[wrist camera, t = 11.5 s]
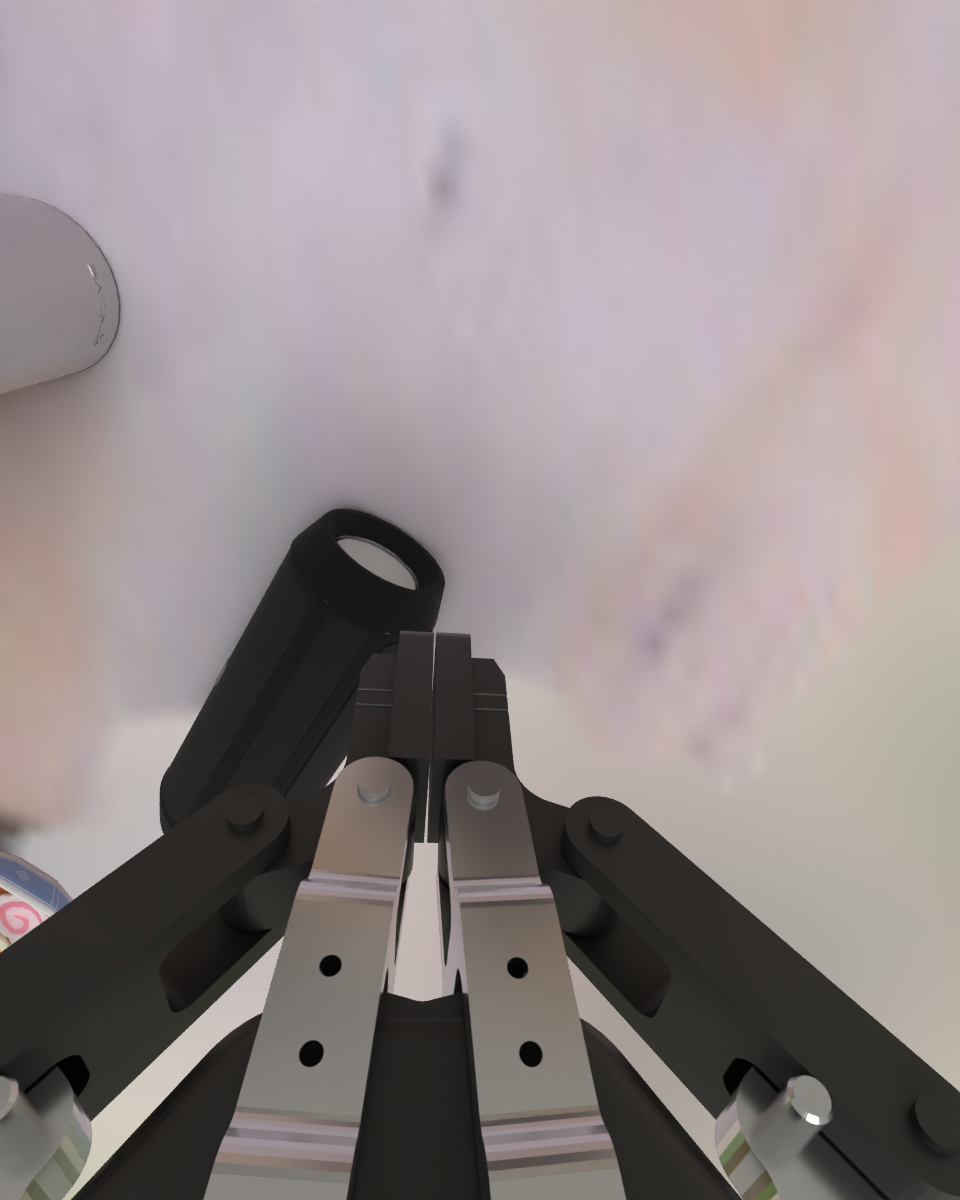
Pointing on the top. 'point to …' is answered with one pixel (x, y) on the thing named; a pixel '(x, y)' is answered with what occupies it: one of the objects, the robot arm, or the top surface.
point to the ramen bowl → (25, 898)
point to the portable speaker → (304, 663)
